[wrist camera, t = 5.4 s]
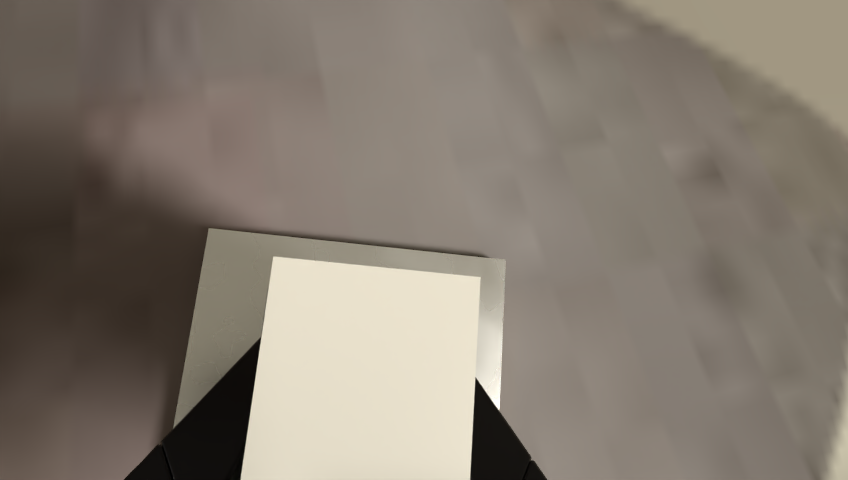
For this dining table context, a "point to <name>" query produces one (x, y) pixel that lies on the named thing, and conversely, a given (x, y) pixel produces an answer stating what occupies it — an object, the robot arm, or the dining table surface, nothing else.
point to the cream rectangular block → (364, 374)
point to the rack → (253, 255)
